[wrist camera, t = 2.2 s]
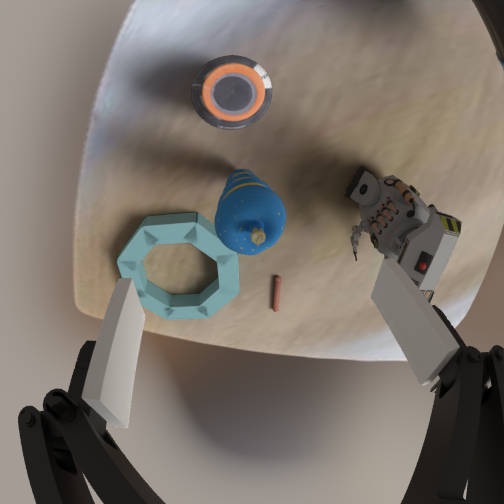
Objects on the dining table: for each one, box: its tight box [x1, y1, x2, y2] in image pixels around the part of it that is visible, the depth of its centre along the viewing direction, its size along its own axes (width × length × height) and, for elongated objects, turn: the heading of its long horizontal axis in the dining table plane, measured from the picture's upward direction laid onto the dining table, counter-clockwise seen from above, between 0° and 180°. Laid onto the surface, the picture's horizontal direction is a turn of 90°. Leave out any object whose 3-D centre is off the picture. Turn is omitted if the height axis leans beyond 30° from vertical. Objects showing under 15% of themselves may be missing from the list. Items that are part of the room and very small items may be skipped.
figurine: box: [345, 166, 461, 303], centre depth 27 cm, size 9×12×15 cm
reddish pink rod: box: [273, 276, 281, 312], centre depth 39 cm, size 7×1×1 cm, turn 0°
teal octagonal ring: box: [117, 212, 239, 320], centre depth 34 cm, size 15×15×2 cm
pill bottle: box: [191, 55, 272, 129], centre depth 19 cm, size 6×6×11 cm
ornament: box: [215, 169, 286, 255], centre depth 23 cm, size 5×5×15 cm
